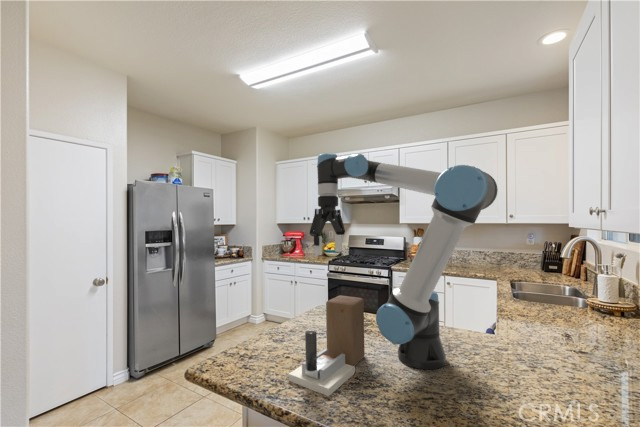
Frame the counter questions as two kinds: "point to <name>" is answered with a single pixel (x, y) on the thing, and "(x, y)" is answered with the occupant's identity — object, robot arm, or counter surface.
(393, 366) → the counter surface
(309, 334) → the ram handle
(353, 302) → the wooden block
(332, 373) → the base
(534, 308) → the counter surface
